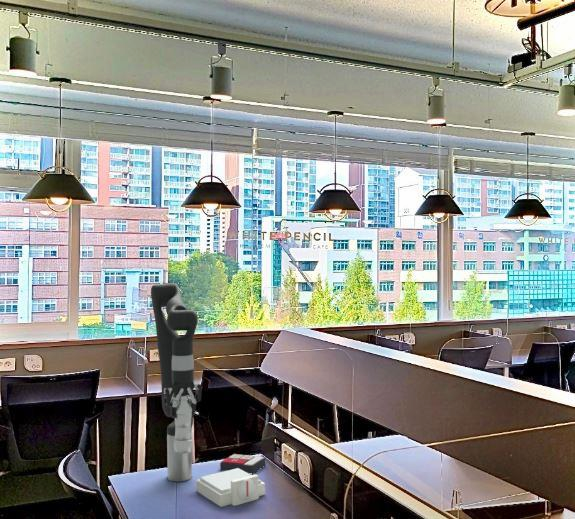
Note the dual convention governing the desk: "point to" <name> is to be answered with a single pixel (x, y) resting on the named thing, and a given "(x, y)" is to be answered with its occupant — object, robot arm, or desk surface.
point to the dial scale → (230, 487)
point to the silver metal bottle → (183, 426)
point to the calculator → (243, 463)
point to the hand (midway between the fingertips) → (183, 415)
